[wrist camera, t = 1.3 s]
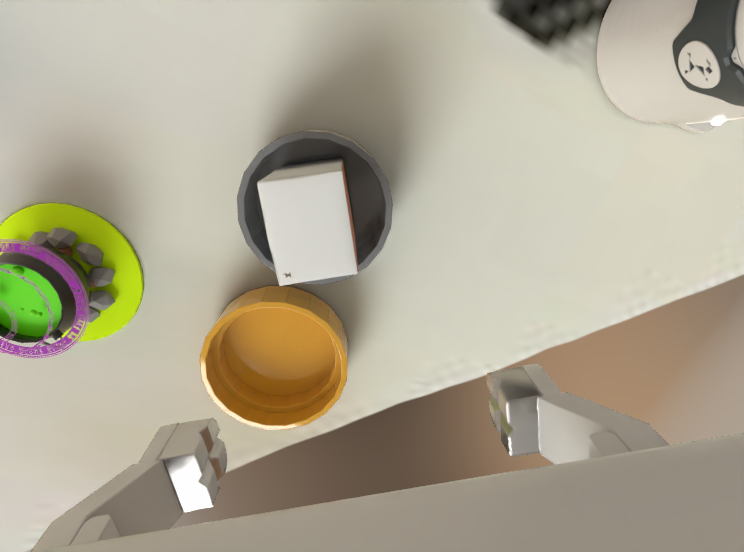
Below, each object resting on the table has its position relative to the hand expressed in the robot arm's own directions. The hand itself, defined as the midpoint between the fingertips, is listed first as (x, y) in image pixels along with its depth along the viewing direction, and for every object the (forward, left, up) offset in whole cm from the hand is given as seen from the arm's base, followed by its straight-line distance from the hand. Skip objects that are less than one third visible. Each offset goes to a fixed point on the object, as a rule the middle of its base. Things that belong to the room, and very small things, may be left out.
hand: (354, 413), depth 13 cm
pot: (+2, -2, -34) cm, 35 cm away
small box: (+2, -2, -34) cm, 34 cm away
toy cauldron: (+28, -10, -35) cm, 46 cm away
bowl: (+15, +9, -34) cm, 39 cm away
